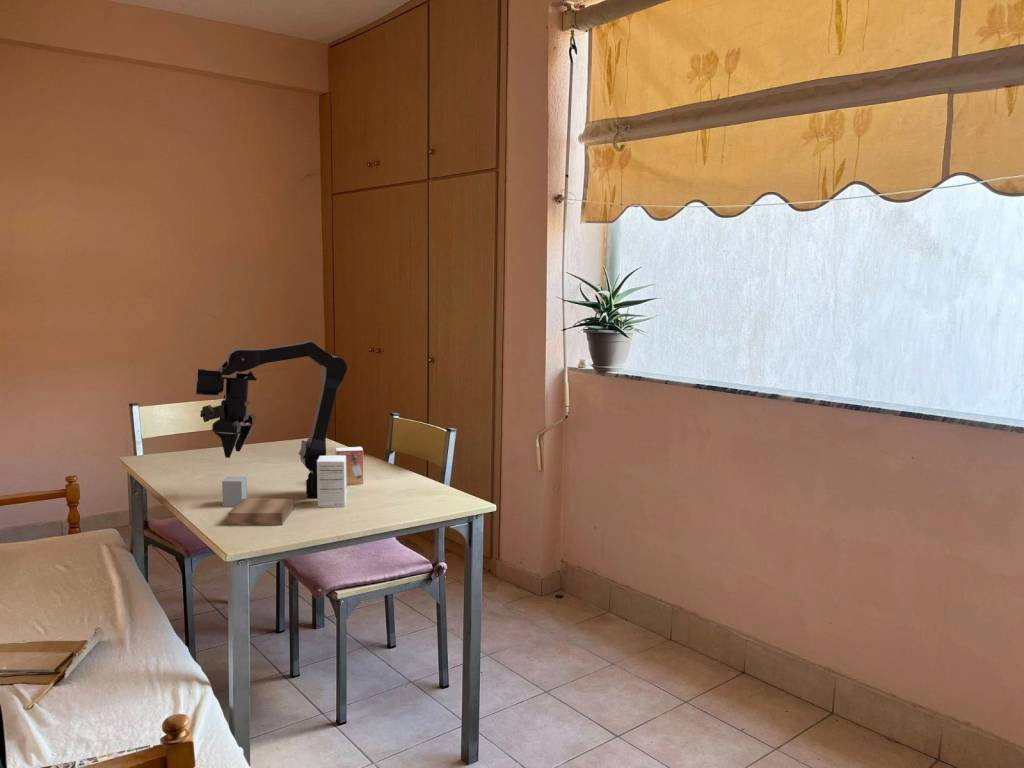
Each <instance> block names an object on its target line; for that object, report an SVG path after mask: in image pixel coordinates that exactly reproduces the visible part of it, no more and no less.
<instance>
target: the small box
mask: <svg viewBox="0 0 1024 768" xmlns="http://www.w3.org/2000/svg"><path fill="white" fill-rule="evenodd" d="M334 449H335V450H334V451H335V452H334V455H345V456H346V486H349V485H350V486H351V485H352V486H354V485H357V486H358V485H359V484H363V485H364V449H363V447H362V446H350V447H335V448H334Z"/></svg>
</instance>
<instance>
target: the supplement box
mask: <svg viewBox="0 0 1024 768" xmlns="http://www.w3.org/2000/svg"><path fill="white" fill-rule="evenodd" d="M347 494H348V492H347V485H346V456H345V455H335V454H334V455H333V454H332V455H326V456H319V458H318V460H317V497H318V498H317V507H318V508H345V507H346V504H347V500H348V498H347V497H348V495H347Z"/></svg>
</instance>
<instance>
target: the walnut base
mask: <svg viewBox="0 0 1024 768" xmlns="http://www.w3.org/2000/svg"><path fill="white" fill-rule="evenodd" d="M293 511H294V498H247V499H242V500H241V501H240V502H239V503H238V504H237V505H236V506H235V507H232V508H231V509H230V510H229V511H228V513H227V525H228V526H283V524H284V523H285V522H286V521H287V519H288V518H289V517H290V515H291V514H292V512H293Z"/></svg>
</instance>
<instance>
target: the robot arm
mask: <svg viewBox="0 0 1024 768" xmlns="http://www.w3.org/2000/svg"><path fill="white" fill-rule="evenodd" d="M305 357H308V358H310V360H312V361H314V362H315V363H316V364H318V365H319V366H320V367H321V369H320V384H321V387H320V391H319V397H318V402H317V405H316V410H315V414H314V418H313V422H312V423H313V424H312V426H311V430H310V434H309V436H308V438H307V440H304V439H302V440H301V444H300V445H301V446H300V449H299V452H298V455H299V456H300V457H299V458H300V461H301V463H302V465H304V467H305V468H306V469H307V470H308V471H309V473H308V474H307V478H306V479H305V491H306V493H305V494H306V498H307V499H308V498H309V499H310V498H311V499H313V498H314V499H315V498H317V499H318V497H317V460H318V458H319V456H327V443H326V439H327V438H326V437H327V434H328V430H329V425H330V422H331V417H332V412H333V410H334V404H335V400H336V395H337V391H338V389H339V387H340V385H341V384H342V383H343V381H344V378H345V376H346V374H347V371H348V365H347V363H346V361H345V360H344V359H343V358H342V357H339V356H336V355H331V354H329V353H328V352H326V351H325V350H323V349H322V348H320V347H319V346H318V345H317V344H316V343H315V342H312V341H310V340H306V341H304V342H298V343H292V344H285V345H280V346H272V347H267V348H245V347H244V348H238V347H237V348H233V349H231V350H230V351H229V352H228V353H227V355H226V360H225V361H224V363H222V365H221V366H220V367H219V368H218V369H204V368H197V372H196V379H195V381H194V382H195V383H194V394H195V395H196V396H214V397H215V396H219V395H220V394H221V393H223V392H225V393H224V399H222V401H221V402H220V403H221V404H219V405H216V406H215V405H214V406H212V405H210V404H208V405H204V406H202V409H201V410H200V411H199V412H200V414H199V417H200V418H202V419H203V422H204V423H206V422H209V421H212V420H215V419H216V421H214V422H213V423H212V426H211V432H213V433H214V434H215V435H217V436H218V438H220V440H221V444H222V448H223V453H224V457H225V458H228V459H230V458H231V456H232V454H233V452H234V449H235V452H241V450H242V449H243V446H245V445H244V444H245V443H246V440H247V438H248V437H249V435H250V433H251V431H252V429H253V428H254V425H255V424H256V417H257V416H255V415H254V413H251V412H248V405H250V404H251V403H250V402H251V400H250V399H249V385H250V383H249V382H250V381H252V382H253V381H255V382H256V381H257V380H258V378H257V377H256V376H255V375H254V374H253V371H251V369H254V368H257V367H259V366H261V365H265V364H268V363H269V364H270V363H274V362H281V361H286V360H293V359H299V358H305ZM246 371H247V372H246ZM243 372H244V373H243ZM245 372H246V373H245ZM233 374H234V375H233ZM231 375H233V376H231ZM224 387H225V388H224ZM224 389H225V391H224ZM217 419H218V420H217Z"/></svg>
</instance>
